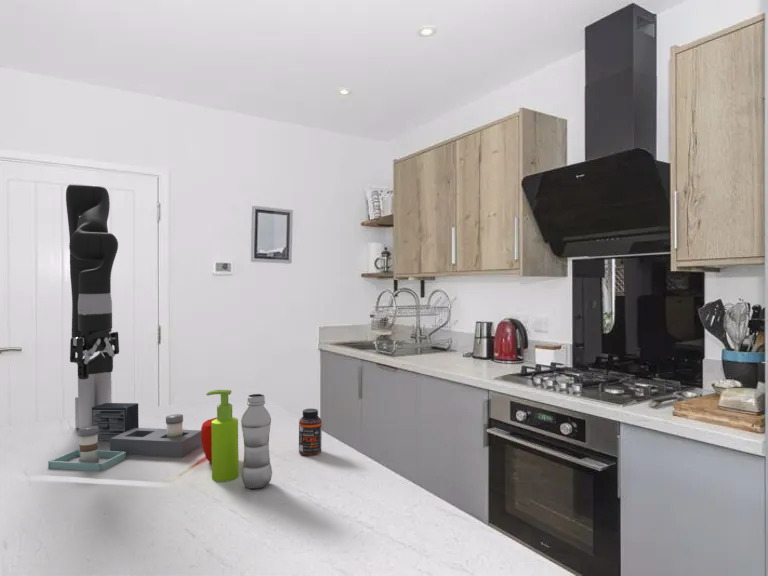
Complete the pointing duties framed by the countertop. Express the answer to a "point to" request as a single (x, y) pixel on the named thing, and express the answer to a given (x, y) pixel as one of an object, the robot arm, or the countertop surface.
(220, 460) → the soap dispenser
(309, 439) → the supplement bottle
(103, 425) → the small box
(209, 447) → the apple
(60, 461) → the tray
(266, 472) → the plastic bottle
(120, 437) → the block
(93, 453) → the fuse
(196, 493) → the countertop surface
